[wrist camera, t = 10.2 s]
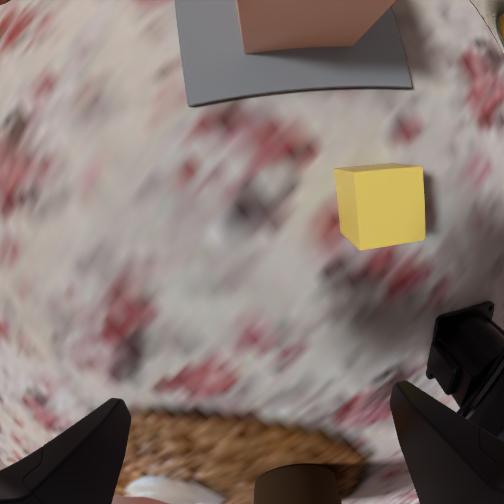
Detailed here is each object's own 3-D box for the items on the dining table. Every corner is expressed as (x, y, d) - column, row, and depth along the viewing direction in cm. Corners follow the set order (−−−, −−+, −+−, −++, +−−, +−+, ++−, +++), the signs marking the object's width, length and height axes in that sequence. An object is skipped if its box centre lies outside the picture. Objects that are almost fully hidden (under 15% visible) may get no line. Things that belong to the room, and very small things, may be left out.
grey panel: (366, -49, 12) (368, -52, 12) (408, 88, 16) (412, 86, 15) (172, -37, 13) (170, -40, 13) (189, 107, 17) (188, 105, 16)
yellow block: (392, 163, 17) (422, 166, 14) (396, 223, 19) (425, 239, 15) (333, 168, 18) (353, 172, 14) (340, 231, 19) (359, 250, 15)
